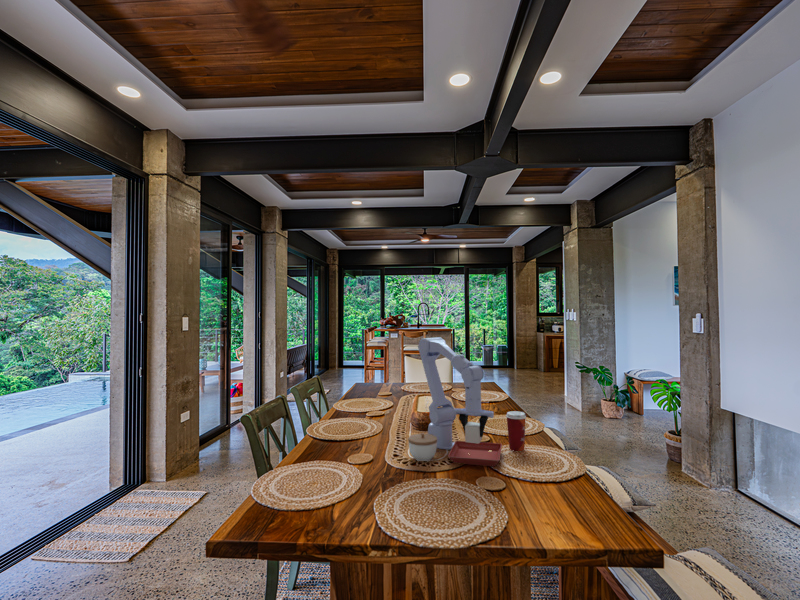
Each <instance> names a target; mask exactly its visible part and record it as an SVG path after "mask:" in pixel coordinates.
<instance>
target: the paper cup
mask: <svg viewBox="0 0 800 600" xmlns="http://www.w3.org/2000/svg"><path fill="white" fill-rule="evenodd" d="M505 417H506V422H507V423H506V424H507V435H508V438H507V439H508V446H509V450H510V449H511V450H510V451H512V450H514V451H513V452H515V451H522V452H524V451H525V443H526V442H525V441H526V419H527V415H526V413H525V412H524V411H517V410H513V411H507V412H506V415H505ZM523 450H524V451H523Z"/></svg>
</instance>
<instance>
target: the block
mask: <svg viewBox="0 0 800 600" xmlns="http://www.w3.org/2000/svg"><path fill="white" fill-rule="evenodd" d="M464 437H465V438H464V439H465V440H464V441H465V442H469V443H477V444H479V443H480V442H482V440H483V437H480V422H475V421H468V423H467V424H466V425H465V433H464Z"/></svg>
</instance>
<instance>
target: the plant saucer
mask: <svg viewBox="0 0 800 600" xmlns="http://www.w3.org/2000/svg"><path fill="white" fill-rule="evenodd" d="M454 442H455V443H454V445H453V447H452V448H451V449H450V451H449V453H448V458H449V459H450V460H451V462H452V463H453V464H459V463H465V464H464V465H471V466H472V465H473V466H485V467H496V466H497V464H499V462H500V461H501V460H500V459H501V455H502V454H501V453H502V447H503V444H502V443H498V442H497V443H495V442H482V441H481V442H480V443H479V444H477V443H469V442H465V440H464V441H463V440H456V441H454ZM489 450H492V452H488V451H489ZM468 453H469V454H470V455H469V454H468Z"/></svg>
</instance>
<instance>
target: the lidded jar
mask: <svg viewBox="0 0 800 600" xmlns="http://www.w3.org/2000/svg"><path fill="white" fill-rule="evenodd" d="M407 441H408V449H409V453H410V454H411V457H413V459H414V460H415V459H416V460H417V462H419V461H427V462H429V461H432V459H433V457H435V455H436V453H437V449H438V448H437V437H436V436H434V435H431V434H428V433H424V432H421V433H415V434H411V435H410V436H409V437H408V440H407ZM416 460H415V461H416Z"/></svg>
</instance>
